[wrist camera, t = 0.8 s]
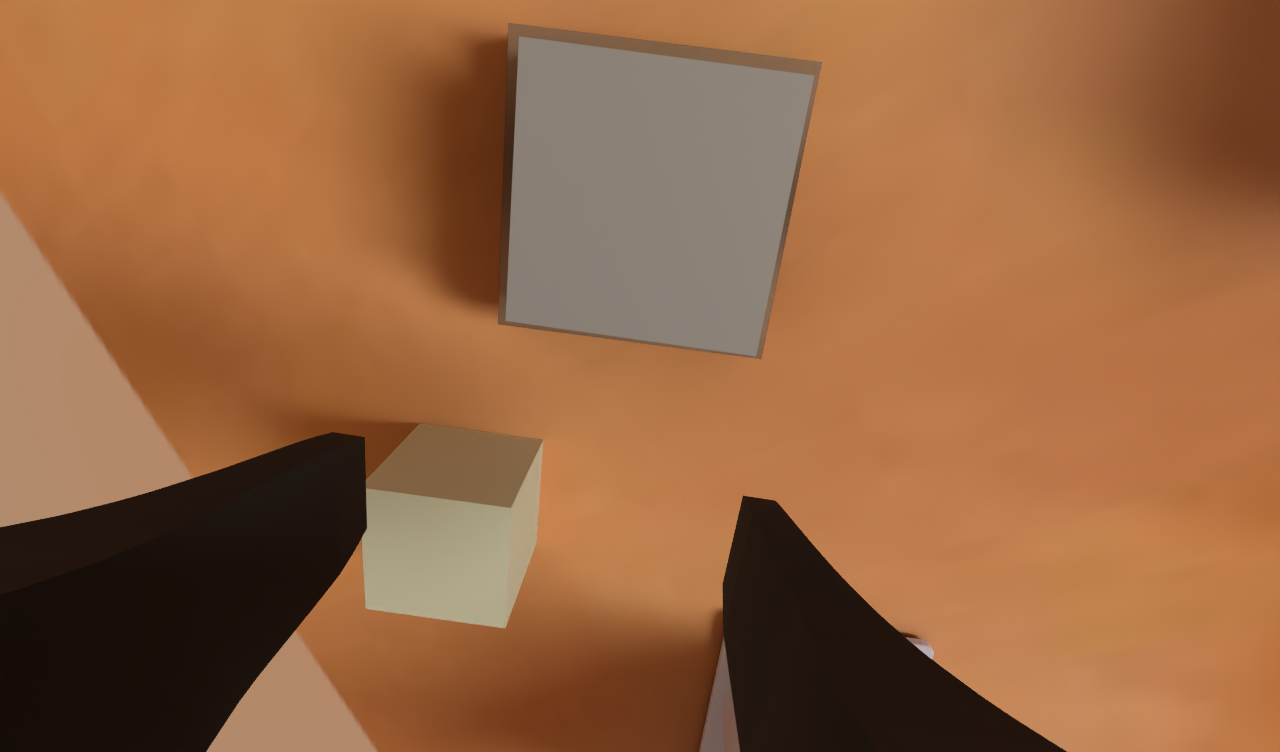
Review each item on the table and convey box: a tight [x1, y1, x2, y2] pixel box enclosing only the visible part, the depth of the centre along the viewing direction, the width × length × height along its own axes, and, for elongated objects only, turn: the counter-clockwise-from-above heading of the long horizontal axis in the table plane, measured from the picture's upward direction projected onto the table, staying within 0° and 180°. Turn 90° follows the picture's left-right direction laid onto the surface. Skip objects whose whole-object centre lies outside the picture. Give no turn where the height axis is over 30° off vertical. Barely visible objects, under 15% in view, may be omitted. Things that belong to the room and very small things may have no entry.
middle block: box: [506, 36, 814, 356], centre depth 15 cm, size 6×6×2 cm
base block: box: [498, 23, 822, 359], centre depth 18 cm, size 8×8×2 cm
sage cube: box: [362, 423, 543, 628], centre depth 20 cm, size 4×4×4 cm
